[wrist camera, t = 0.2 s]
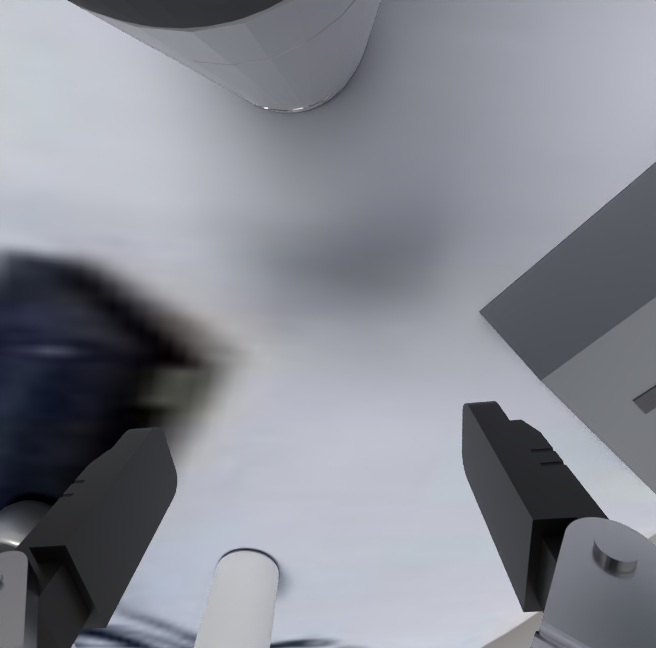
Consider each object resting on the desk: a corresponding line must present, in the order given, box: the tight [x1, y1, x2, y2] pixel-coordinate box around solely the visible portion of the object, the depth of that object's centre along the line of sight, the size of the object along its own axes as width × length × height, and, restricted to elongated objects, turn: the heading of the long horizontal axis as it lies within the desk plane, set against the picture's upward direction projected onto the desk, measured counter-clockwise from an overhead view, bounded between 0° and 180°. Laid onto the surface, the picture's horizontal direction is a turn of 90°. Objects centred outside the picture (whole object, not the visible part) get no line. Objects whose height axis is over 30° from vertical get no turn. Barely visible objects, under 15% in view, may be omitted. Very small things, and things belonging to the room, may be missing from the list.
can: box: [194, 550, 279, 648], centre depth 34 cm, size 6×6×12 cm
